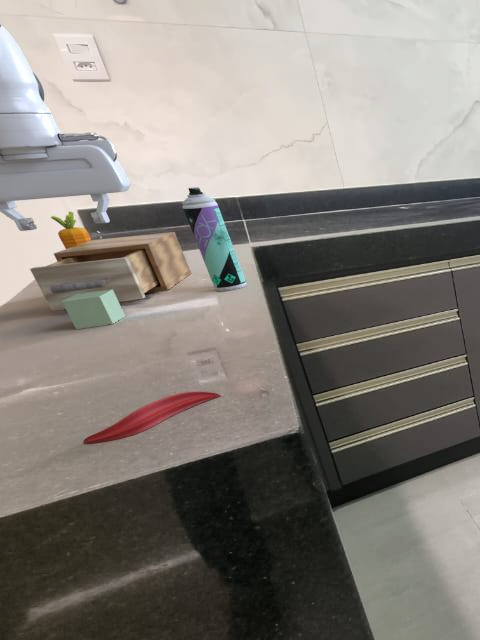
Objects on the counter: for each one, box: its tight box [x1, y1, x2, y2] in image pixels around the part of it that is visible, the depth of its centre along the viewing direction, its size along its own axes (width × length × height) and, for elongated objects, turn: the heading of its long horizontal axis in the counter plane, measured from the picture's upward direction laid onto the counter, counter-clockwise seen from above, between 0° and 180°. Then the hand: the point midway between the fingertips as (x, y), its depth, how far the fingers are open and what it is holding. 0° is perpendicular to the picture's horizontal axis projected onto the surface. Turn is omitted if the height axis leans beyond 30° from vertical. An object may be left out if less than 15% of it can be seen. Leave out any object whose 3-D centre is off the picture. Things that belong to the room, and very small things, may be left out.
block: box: [62, 289, 126, 330], centre depth 91 cm, size 5×5×5 cm
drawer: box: [29, 249, 160, 312], centre depth 102 cm, size 19×14×8 cm
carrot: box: [50, 211, 92, 249], centre depth 125 cm, size 5×5×15 cm
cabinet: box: [53, 231, 192, 294], centre depth 113 cm, size 16×15×10 cm
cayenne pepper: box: [82, 391, 222, 444], centre depth 58 cm, size 12×5×2 cm, turn 138°
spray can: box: [181, 186, 248, 292], centre depth 106 cm, size 6×6×20 cm
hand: (66, 226), depth 87 cm, fingers open, 8 cm apart
